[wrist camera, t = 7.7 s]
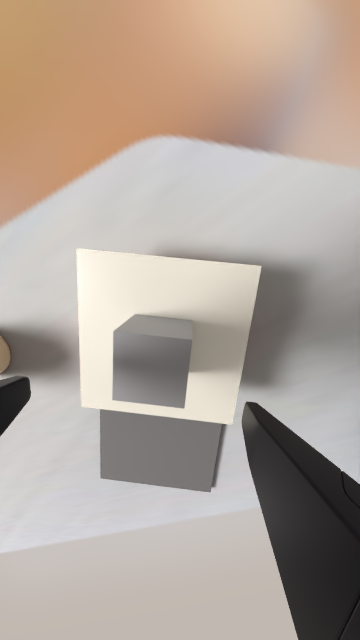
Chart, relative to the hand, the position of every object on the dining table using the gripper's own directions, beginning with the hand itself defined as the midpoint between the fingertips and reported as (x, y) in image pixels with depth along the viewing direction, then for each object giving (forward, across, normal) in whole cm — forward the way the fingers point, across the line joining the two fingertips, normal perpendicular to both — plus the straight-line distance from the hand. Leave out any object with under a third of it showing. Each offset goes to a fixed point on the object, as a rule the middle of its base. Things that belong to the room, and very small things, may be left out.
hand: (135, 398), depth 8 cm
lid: (+7, 0, 0) cm, 7 cm away
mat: (+12, 0, +13) cm, 17 cm away
